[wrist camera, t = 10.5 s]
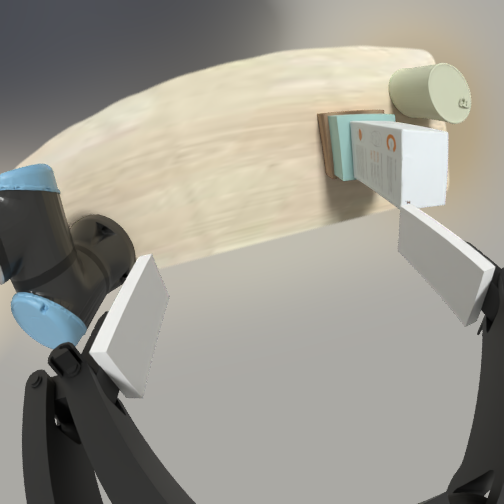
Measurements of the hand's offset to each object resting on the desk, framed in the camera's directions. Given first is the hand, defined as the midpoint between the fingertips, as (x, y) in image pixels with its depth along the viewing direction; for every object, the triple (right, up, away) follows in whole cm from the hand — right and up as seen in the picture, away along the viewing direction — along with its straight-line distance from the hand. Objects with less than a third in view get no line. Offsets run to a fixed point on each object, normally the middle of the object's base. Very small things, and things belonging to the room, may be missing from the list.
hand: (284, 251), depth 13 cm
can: (+26, +27, +21) cm, 43 cm away
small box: (+15, +14, +19) cm, 28 cm away
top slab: (+14, +16, +23) cm, 31 cm away
